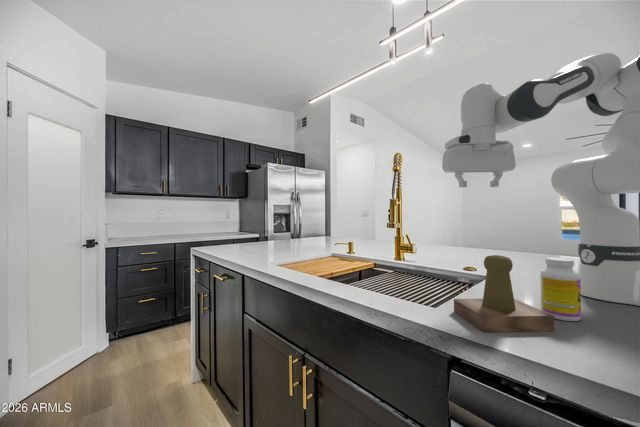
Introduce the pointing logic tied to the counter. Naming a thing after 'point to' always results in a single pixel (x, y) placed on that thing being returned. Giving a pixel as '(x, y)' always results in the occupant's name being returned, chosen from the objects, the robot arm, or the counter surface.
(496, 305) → the cork
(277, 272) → the counter surface
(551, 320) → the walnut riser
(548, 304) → the supplement bottle
